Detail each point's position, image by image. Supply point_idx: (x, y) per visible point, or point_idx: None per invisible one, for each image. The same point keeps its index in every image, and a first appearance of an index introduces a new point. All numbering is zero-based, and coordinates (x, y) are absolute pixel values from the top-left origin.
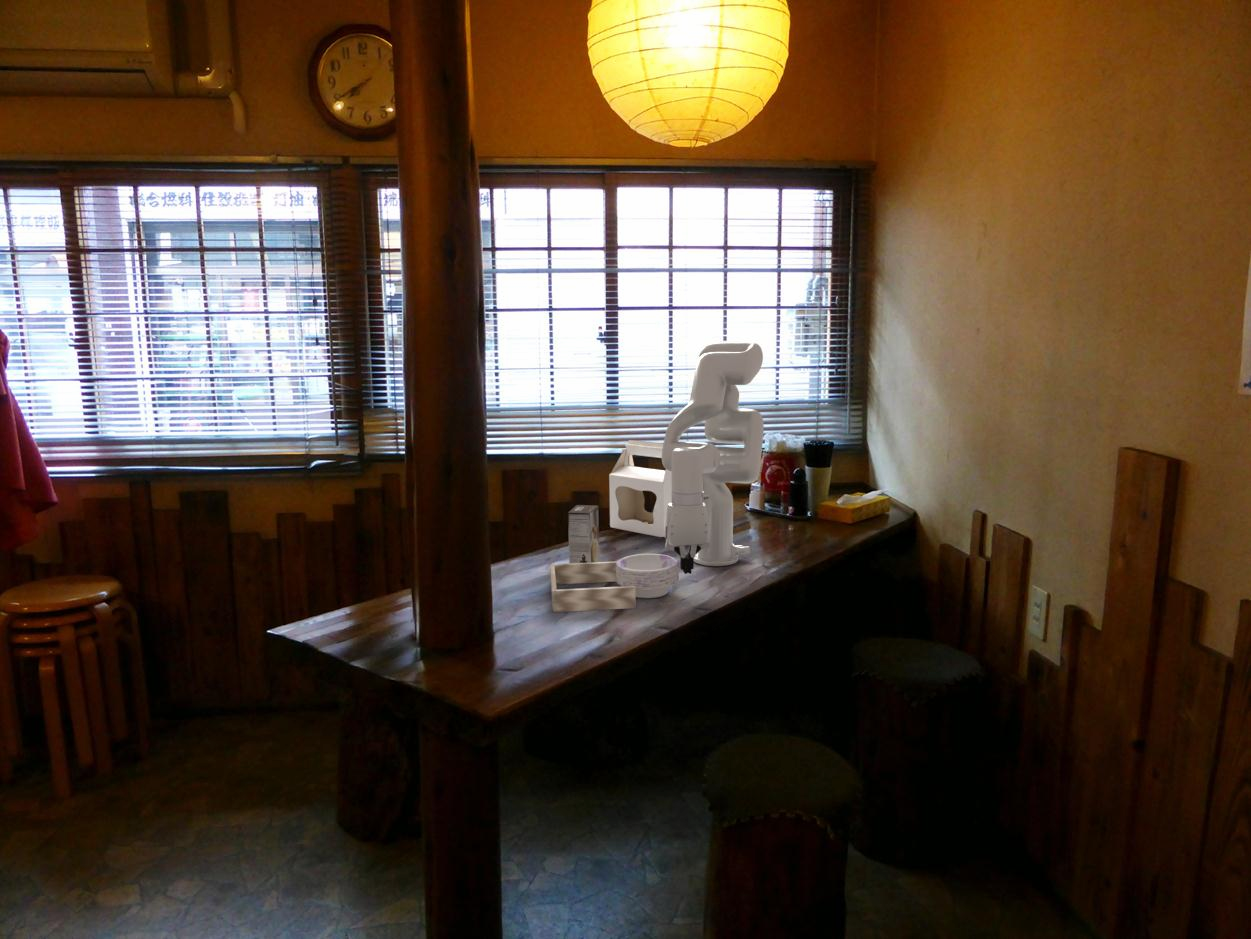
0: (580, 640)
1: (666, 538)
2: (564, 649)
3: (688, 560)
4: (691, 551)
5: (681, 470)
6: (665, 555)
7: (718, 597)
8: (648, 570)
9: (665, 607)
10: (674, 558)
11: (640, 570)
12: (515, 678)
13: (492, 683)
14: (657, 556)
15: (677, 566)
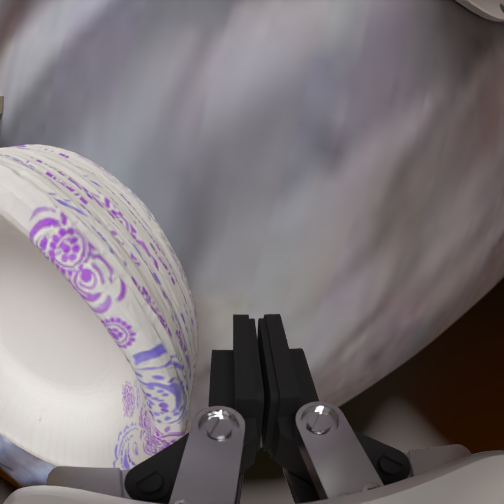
0: (29, 455)
1: (9, 498)
2: (25, 463)
3: (262, 440)
4: (295, 496)
5: None
6: (72, 269)
7: (344, 365)
8: (49, 460)
9: None
10: (157, 374)
11: (21, 446)
12: (18, 478)
13: (8, 474)
14: (18, 228)
15: None
